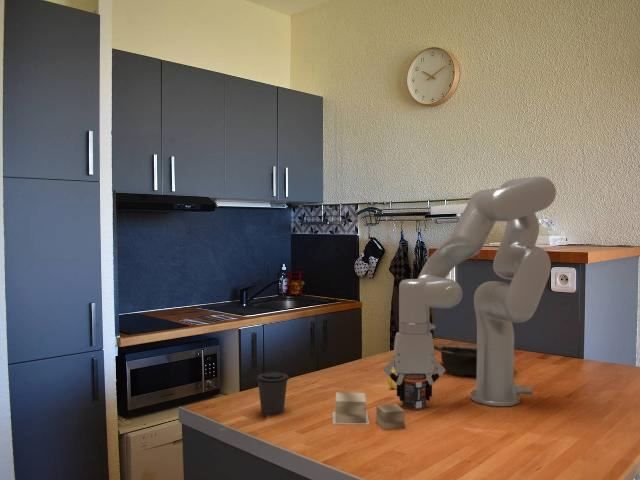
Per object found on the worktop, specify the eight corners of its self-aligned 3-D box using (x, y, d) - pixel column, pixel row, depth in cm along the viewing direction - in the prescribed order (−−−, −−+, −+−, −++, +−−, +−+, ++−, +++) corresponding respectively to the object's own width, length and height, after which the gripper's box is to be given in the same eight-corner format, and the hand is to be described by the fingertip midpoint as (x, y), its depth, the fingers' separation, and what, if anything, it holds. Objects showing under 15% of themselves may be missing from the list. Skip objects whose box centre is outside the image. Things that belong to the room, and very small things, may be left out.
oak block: (396, 420, 134) (396, 404, 133) (404, 428, 129) (404, 410, 129) (376, 422, 132) (376, 405, 132) (383, 430, 128) (383, 412, 127)
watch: (399, 386, 166) (400, 365, 166) (406, 388, 164) (408, 367, 164) (385, 388, 162) (386, 367, 162) (392, 390, 160) (393, 369, 160)
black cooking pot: (454, 382, 168) (453, 351, 168) (420, 368, 192) (419, 340, 192) (528, 376, 173) (527, 346, 174) (486, 363, 198) (485, 336, 198)
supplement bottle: (426, 413, 140) (426, 367, 140) (401, 411, 142) (401, 366, 141) (426, 405, 146) (426, 362, 146) (403, 404, 148) (403, 361, 147)
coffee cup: (263, 421, 134) (263, 379, 134) (251, 411, 142) (251, 371, 141) (294, 416, 138) (294, 375, 138) (281, 406, 145) (281, 367, 145)
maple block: (364, 413, 139) (364, 392, 139) (366, 423, 132) (366, 401, 132) (335, 412, 139) (335, 392, 139) (335, 422, 132) (335, 401, 132)
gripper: (445, 325, 147) (445, 394, 147) (378, 325, 147) (378, 394, 148) (451, 331, 139) (451, 404, 140) (381, 331, 140) (381, 404, 140)
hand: (414, 398), depth 144 cm, fingers closed on supplement bottle, 6 cm apart
